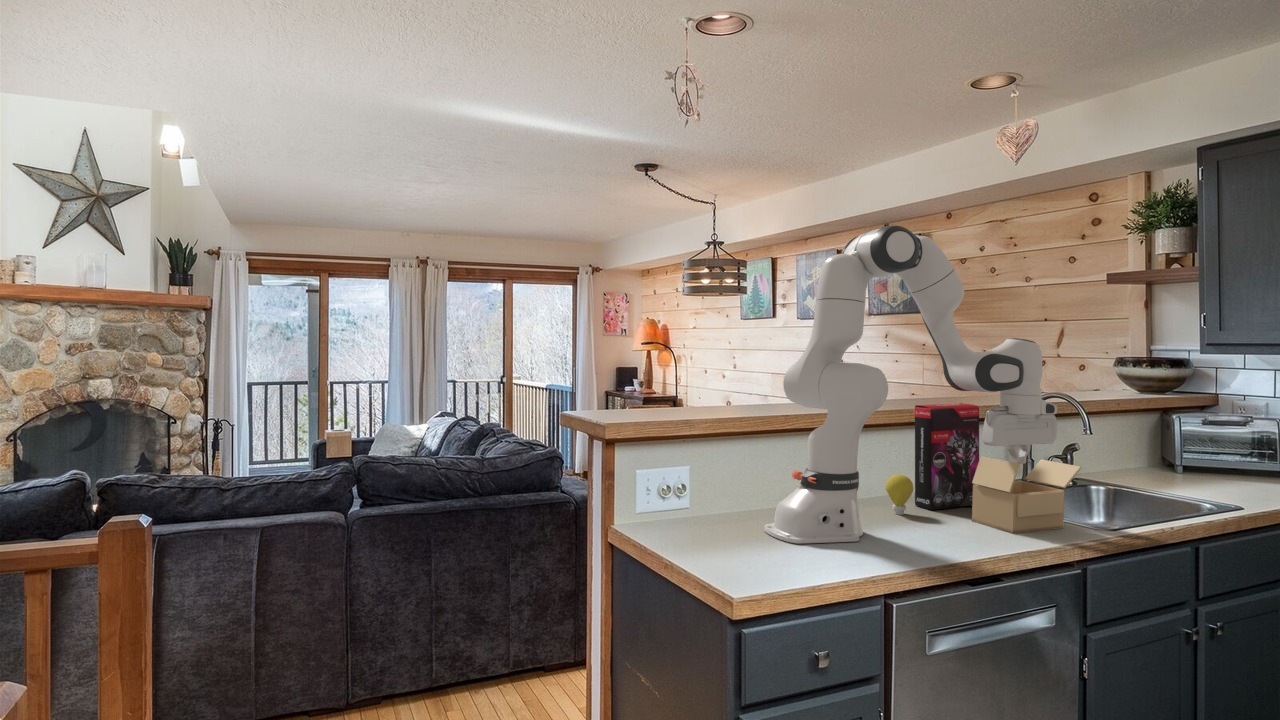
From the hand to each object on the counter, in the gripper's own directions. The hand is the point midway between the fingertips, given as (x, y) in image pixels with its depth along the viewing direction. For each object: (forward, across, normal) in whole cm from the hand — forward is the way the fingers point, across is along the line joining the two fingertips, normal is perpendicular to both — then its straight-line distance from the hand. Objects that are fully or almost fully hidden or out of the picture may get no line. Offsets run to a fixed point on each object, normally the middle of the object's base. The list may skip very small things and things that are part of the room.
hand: (1018, 463), depth 175 cm
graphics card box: (+15, -2, +21) cm, 26 cm away
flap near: (+5, -8, 0) cm, 10 cm away
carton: (+15, 0, 0) cm, 15 cm away
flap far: (+5, +9, 0) cm, 10 cm away
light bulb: (+15, -20, +18) cm, 31 cm away
